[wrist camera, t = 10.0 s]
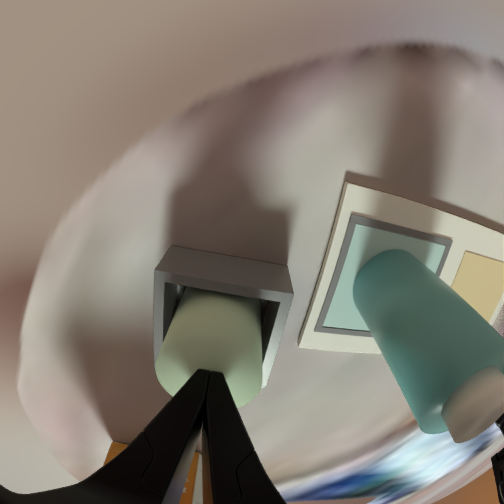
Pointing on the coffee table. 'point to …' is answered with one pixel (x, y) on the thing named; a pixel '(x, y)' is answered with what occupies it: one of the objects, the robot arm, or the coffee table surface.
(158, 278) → the frame
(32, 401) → the coffee table surface
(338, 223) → the colouring sheet
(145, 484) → the robot arm
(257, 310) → the button
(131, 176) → the coffee table surface
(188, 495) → the small box
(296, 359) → the coffee table surface
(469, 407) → the teal marker
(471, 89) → the coffee table surface
